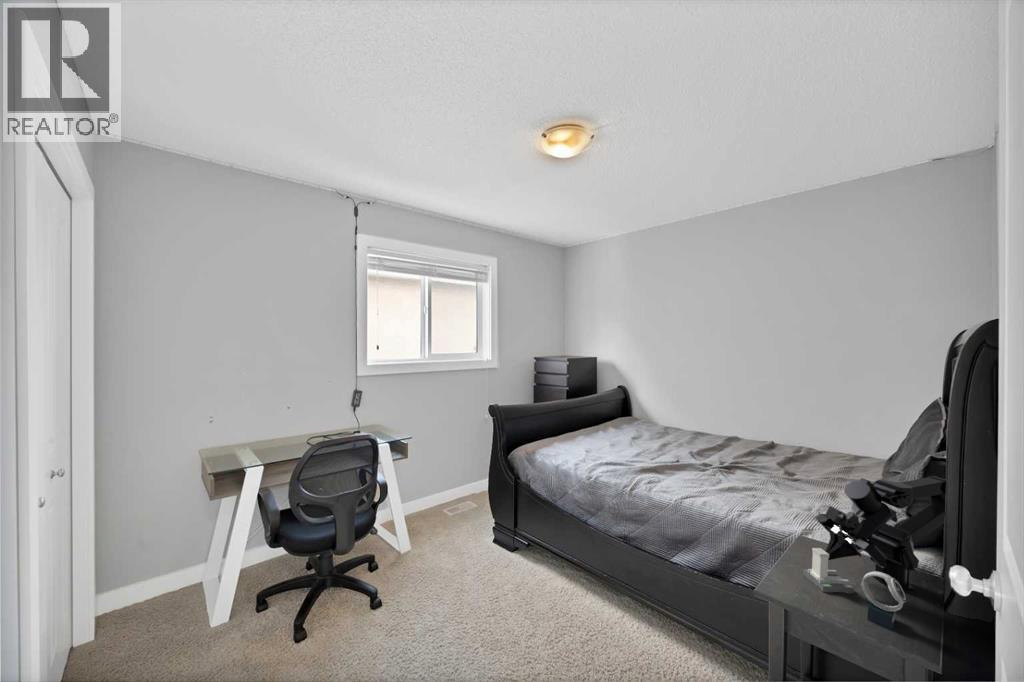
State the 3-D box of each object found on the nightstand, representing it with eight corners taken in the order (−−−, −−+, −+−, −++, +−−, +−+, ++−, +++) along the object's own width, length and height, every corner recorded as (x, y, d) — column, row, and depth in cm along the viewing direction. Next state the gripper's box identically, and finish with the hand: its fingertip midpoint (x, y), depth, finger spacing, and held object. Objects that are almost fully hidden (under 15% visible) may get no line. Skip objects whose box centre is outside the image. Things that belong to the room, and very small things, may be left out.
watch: (903, 634, 96) (905, 587, 95) (858, 615, 102) (860, 571, 101) (906, 623, 99) (908, 578, 99) (862, 606, 105) (864, 563, 105)
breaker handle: (820, 573, 116) (822, 548, 116) (829, 580, 113) (830, 554, 113) (809, 573, 116) (811, 547, 116) (817, 580, 113) (819, 554, 113)
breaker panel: (831, 575, 118) (832, 567, 118) (853, 593, 110) (854, 584, 110) (803, 574, 119) (803, 565, 119) (822, 592, 111) (823, 582, 111)
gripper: (823, 486, 123) (783, 521, 124) (876, 514, 104) (830, 555, 105) (849, 513, 123) (809, 548, 124) (907, 545, 104) (860, 587, 105)
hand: (825, 558), depth 114 cm, fingers closed, pressing on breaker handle
